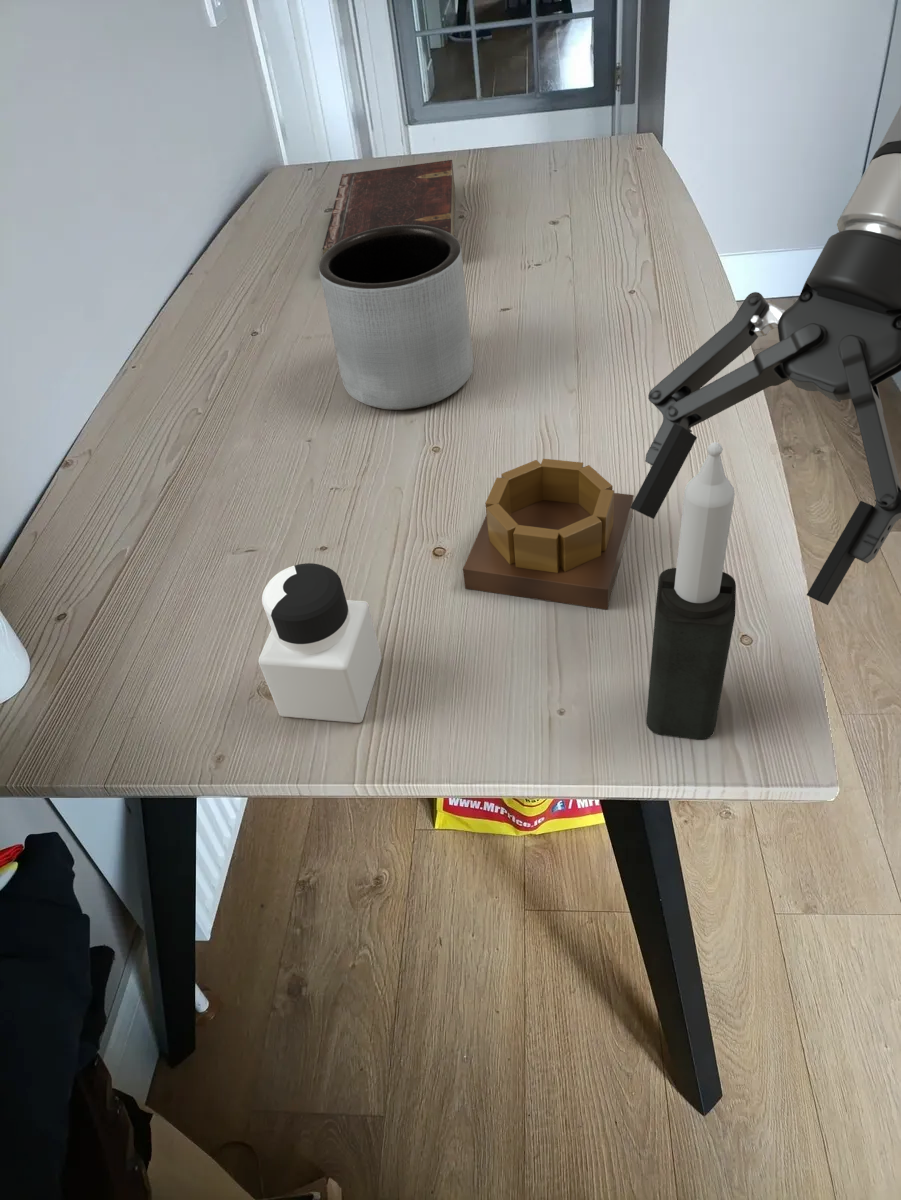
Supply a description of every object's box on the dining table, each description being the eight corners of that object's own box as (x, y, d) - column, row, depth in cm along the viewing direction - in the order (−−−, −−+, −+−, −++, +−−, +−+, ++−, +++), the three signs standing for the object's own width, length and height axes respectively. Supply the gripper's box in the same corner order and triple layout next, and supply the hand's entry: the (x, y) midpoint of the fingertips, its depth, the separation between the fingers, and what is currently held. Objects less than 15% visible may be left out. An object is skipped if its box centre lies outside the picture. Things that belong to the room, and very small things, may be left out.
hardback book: (345, 202, 149) (339, 172, 146) (455, 191, 148) (452, 159, 144) (327, 279, 129) (320, 246, 125) (454, 266, 127) (450, 232, 124)
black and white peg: (714, 742, 66) (762, 473, 48) (644, 733, 67) (667, 467, 49) (716, 689, 69) (762, 419, 51) (650, 681, 70) (672, 416, 53)
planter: (368, 342, 114) (345, 222, 103) (487, 347, 110) (477, 222, 99) (325, 412, 103) (294, 286, 92) (455, 419, 99) (440, 289, 88)
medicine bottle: (383, 658, 75) (357, 554, 67) (362, 725, 70) (332, 622, 62) (304, 652, 76) (269, 550, 68) (278, 718, 72) (238, 616, 63)
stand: (632, 515, 85) (635, 460, 80) (607, 610, 76) (609, 554, 72) (503, 500, 88) (498, 446, 84) (465, 588, 80) (457, 535, 75)
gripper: (1108, 331, 51) (914, 648, 55) (735, 235, 65) (603, 493, 69) (1111, 279, 45) (894, 639, 49) (700, 185, 59) (557, 472, 63)
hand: (723, 554), depth 59 cm, fingers open, 13 cm apart
